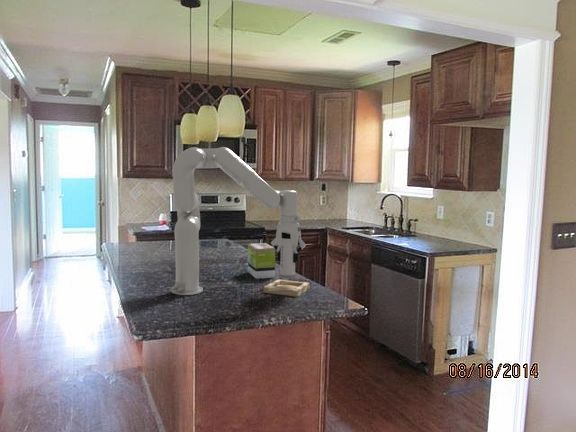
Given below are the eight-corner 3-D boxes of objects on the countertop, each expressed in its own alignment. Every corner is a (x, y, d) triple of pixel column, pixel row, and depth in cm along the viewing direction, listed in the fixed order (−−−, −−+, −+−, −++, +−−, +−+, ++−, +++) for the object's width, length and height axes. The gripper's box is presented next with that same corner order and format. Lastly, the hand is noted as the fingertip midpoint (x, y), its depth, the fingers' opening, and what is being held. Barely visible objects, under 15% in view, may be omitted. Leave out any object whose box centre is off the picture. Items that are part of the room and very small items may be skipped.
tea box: (246, 272, 236) (247, 243, 235) (266, 271, 240) (266, 242, 239) (255, 279, 222) (255, 248, 221) (275, 277, 226) (276, 247, 225)
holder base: (297, 296, 193) (297, 290, 192) (264, 292, 198) (264, 286, 198) (309, 288, 206) (309, 282, 206) (278, 284, 212) (278, 279, 212)
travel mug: (294, 274, 205) (295, 229, 203) (295, 278, 199) (295, 231, 197) (280, 274, 205) (280, 229, 203) (280, 278, 198) (280, 230, 196)
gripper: (310, 219, 200) (310, 261, 201) (273, 217, 206) (273, 258, 208) (304, 221, 193) (303, 264, 194) (266, 219, 199) (265, 261, 201)
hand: (287, 261), depth 201 cm, fingers closed on travel mug, 6 cm apart
